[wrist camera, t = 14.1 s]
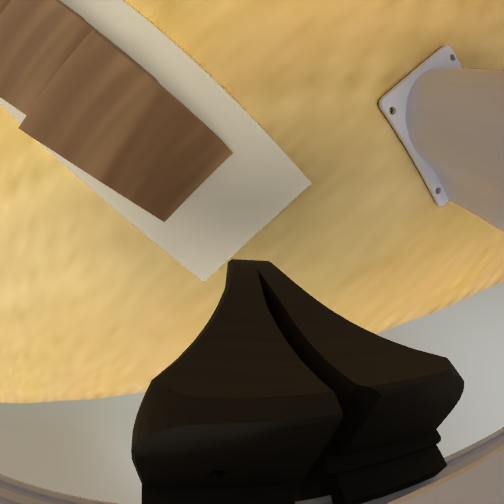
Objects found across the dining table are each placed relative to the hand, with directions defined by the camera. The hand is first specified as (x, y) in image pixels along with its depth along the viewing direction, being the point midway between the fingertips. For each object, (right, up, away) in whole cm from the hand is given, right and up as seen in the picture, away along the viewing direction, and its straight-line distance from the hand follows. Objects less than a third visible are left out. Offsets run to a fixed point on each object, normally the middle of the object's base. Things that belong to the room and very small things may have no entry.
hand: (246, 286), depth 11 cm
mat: (-7, +9, +4) cm, 13 cm away
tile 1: (-3, +5, +6) cm, 8 cm away
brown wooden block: (-6, +8, +4) cm, 11 cm away
